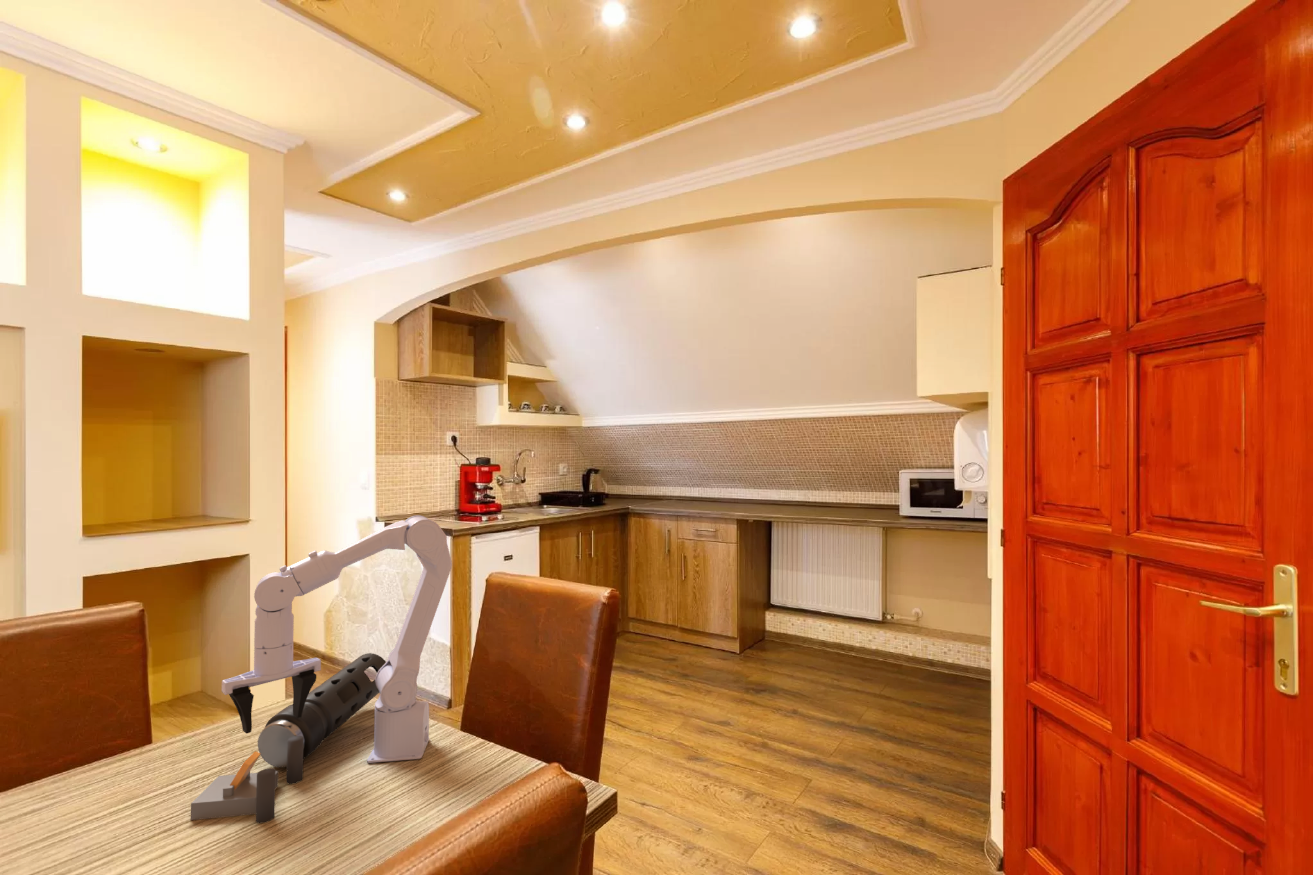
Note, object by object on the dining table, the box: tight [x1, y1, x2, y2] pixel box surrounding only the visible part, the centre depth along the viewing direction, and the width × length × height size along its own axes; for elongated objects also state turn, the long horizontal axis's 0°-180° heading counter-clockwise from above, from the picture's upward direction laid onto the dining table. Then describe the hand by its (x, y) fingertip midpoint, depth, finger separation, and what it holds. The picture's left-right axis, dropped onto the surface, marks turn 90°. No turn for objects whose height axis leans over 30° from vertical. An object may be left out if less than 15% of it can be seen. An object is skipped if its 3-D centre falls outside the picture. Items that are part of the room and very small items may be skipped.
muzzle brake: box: [257, 652, 387, 768], centre depth 120 cm, size 10×28×10 cm
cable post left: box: [255, 767, 276, 824], centre depth 92 cm, size 2×2×7 cm
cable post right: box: [285, 736, 304, 785], centre depth 103 cm, size 2×2×7 cm
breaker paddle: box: [230, 750, 261, 790], centre depth 97 cm, size 1×4×4 cm
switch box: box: [190, 770, 279, 821], centre depth 97 cm, size 9×8×4 cm
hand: (272, 723), depth 103 cm, fingers open, 7 cm apart
